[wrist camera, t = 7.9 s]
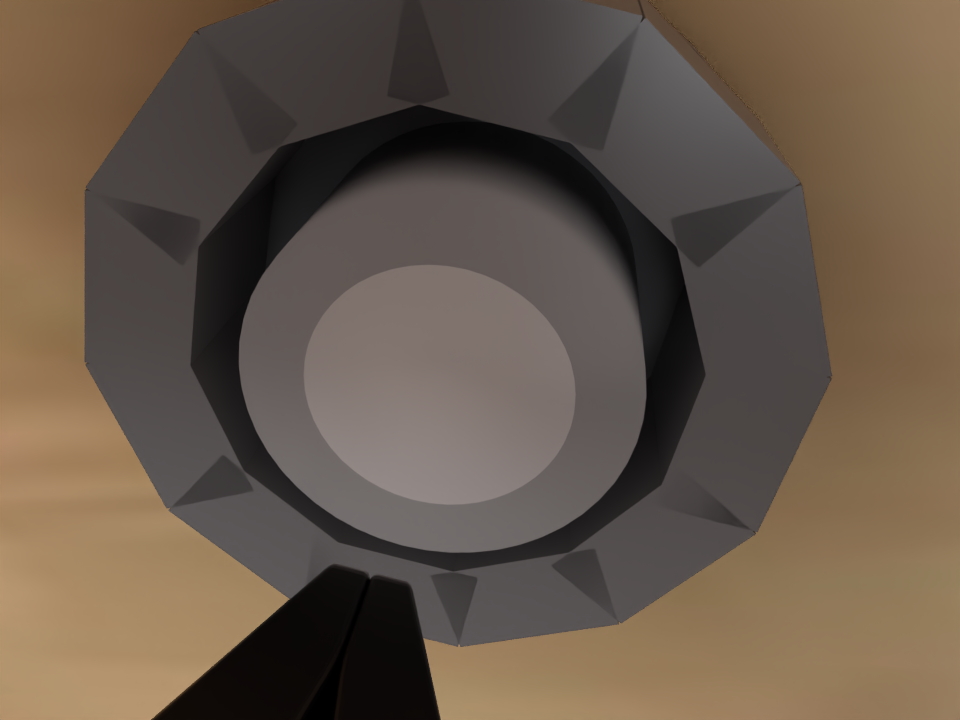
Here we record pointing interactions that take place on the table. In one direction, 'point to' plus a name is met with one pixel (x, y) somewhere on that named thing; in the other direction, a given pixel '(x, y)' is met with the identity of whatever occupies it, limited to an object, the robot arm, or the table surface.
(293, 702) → the robot arm
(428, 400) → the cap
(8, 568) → the table surface
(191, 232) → the grey ring
